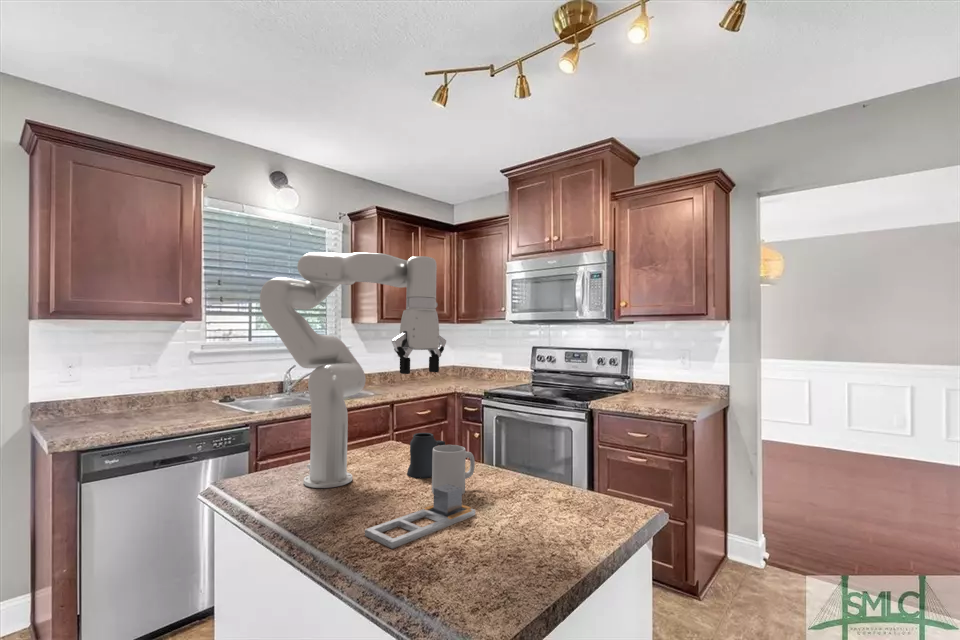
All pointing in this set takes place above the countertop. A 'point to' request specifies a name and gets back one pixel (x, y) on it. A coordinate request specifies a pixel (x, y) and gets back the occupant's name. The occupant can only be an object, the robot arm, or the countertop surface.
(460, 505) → the grey rectangular block
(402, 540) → the grey flat frame
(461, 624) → the countertop surface
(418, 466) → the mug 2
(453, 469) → the mug
